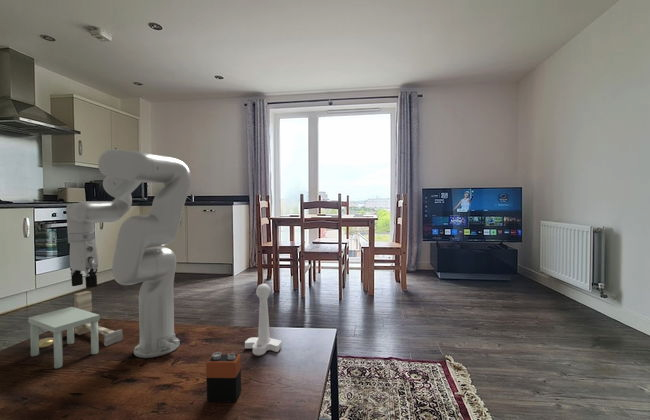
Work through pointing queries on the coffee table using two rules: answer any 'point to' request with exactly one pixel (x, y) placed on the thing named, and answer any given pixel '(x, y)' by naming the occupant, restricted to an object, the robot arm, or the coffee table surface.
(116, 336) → the hoe
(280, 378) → the coffee table surface
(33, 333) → the stand
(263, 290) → the joystick
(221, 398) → the battery
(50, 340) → the token
